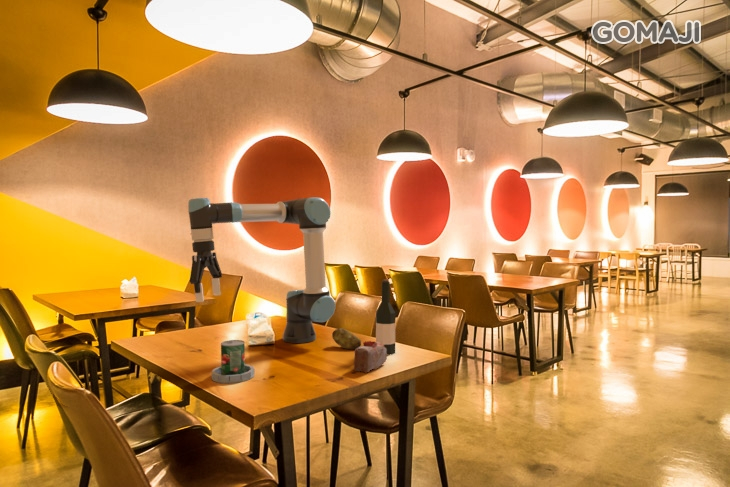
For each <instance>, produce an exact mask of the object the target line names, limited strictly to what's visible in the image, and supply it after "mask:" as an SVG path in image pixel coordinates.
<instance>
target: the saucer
mask: <svg viewBox="0 0 730 487" xmlns="http://www.w3.org/2000/svg"><path fill="white" fill-rule="evenodd" d="M255 371H256V370H255V367H254V366H253V365H250V364H247V363H245V373H242V374H236V375H221V365H220V366H217V367H215V368H213V369H211V381H213V382H215V383H218V384H237V383H242V382H244V383H245V382H247V381H249V380H252V379H253V378H254V377H255Z"/></svg>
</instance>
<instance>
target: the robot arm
mask: <svg viewBox="0 0 730 487" xmlns="http://www.w3.org/2000/svg"><path fill="white" fill-rule="evenodd" d="M187 212H188V216H189V218H188V219H189V226H190V236H191V241H193V242H192V243H191V245H192V252H193V253H196V255H192V256H191V260H192V262H191V269H190V276H189V283H190V285H193V287H194V288H193V290H194V295H195V296H194V297H195V303H203V302H205V297H204V288H203V283H202V279H203V275H204V271H205V269H206V268H207V269H208V270H207V271H209V273H210V275H211V277H212V278H211V286H212V295H213V296H221V295H222V292H221V284H220V282H221V281H220V278H222V276H223V275H222V274H223V273H222V270H221V268H220V264H219V261H218V259H217V252H216V251H215V249H216V248H215V242H214V240H213V239H214V237H215V236H214V230H213V225H215V224H227V223H251V222H253V223H254V222H255V223H256V222H257V223H258V222H259V223H260V222H277V223H279V224H293V225H298V227H299V229H298V230H299V231H300V232H301V233H302V236H303V238H302V239H303V253H304V254H303V255H304V272H305V273H304V275H305V288H304V289H295V290H288V291H287V293H286V298H285V301H286V324H285V328H284V329H283V330H284V331H283V335H282V341H283V342H285V343H291V344H305V343H310V342H311V343H312V342H313V341H316V339H317V333H316V330H315V327H314V325H313V322H315V323H325V322H327V321H329V320H330V319H331V318H332V316H334V314H335V310H336V302H335V300H334V299H333V298H332V296H331V295H330V289H329V288H328V287H327V286H326V285H327V284H326V283H327V282H326V266H325V248H324V246H325V245H324V231H325V230H326V229H327V223H328V222H329V219H331V214H332V212H331V207H330V206H329V203H328V202H327V201H326V200H325V199H323V198H322V197H317V196H316V197H313V196H312V197H311V196H310V197H305V198H296V199H292V200H285V201H284V200H283V201H282V200H281V201H277V203H239V202H220V203H219V202H218V203H216V202H215V203H212V202H211V201H210V198H208V197H198V198H191V199H189V200H188V211H187ZM213 251H215V252H213Z"/></svg>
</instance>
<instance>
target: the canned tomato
mask: <svg viewBox="0 0 730 487" xmlns="http://www.w3.org/2000/svg"><path fill="white" fill-rule="evenodd" d="M245 345H246V344H245V340H241V339H240V340H239V339H232V340H225V341H222V342H220V366H221V375H236V374H242V373H245V364H246V363H245V362H246V359H245V355H246V352H245V350H246V348H245V347H246V346H245Z"/></svg>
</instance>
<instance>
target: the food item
mask: <svg viewBox="0 0 730 487" xmlns="http://www.w3.org/2000/svg"><path fill="white" fill-rule="evenodd" d="M386 351H387V349H386V348H385V347H384V345H383V344H381V343H379V342H376V341H374V340H373V341H372V340H368V341H363V344H362V345H361V346H360V347H359V348H356V349H354V358H353V359H354V360H353V366H354V367H353V369H354V371H356V372H360V371H361V372H360V373H365V372H368V373H369V372H371V371H372V369H373V370H378V369H379V368H380V367H381V366H382V365H384V364H385V363H386V362H387V359H388V355H387V353H386ZM377 368H378V369H377ZM370 370H371V371H370Z"/></svg>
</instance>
